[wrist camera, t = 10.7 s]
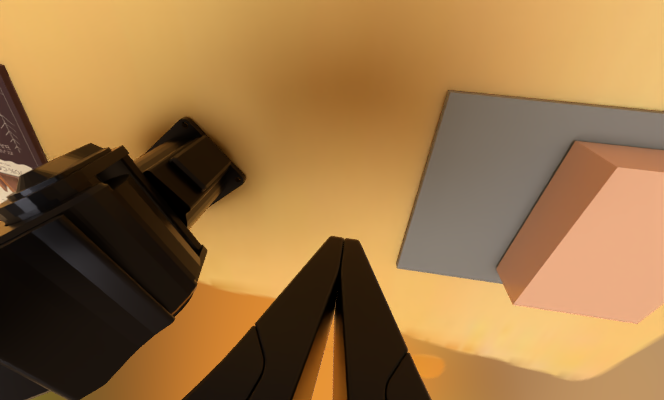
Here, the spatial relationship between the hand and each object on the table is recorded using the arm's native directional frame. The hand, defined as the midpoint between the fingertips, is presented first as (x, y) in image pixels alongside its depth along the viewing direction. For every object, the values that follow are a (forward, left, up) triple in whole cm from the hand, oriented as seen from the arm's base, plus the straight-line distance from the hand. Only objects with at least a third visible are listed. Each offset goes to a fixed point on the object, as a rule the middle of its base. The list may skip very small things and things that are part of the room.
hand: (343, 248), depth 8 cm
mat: (+7, -14, -13) cm, 21 cm away
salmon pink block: (+10, -16, -10) cm, 22 cm away
